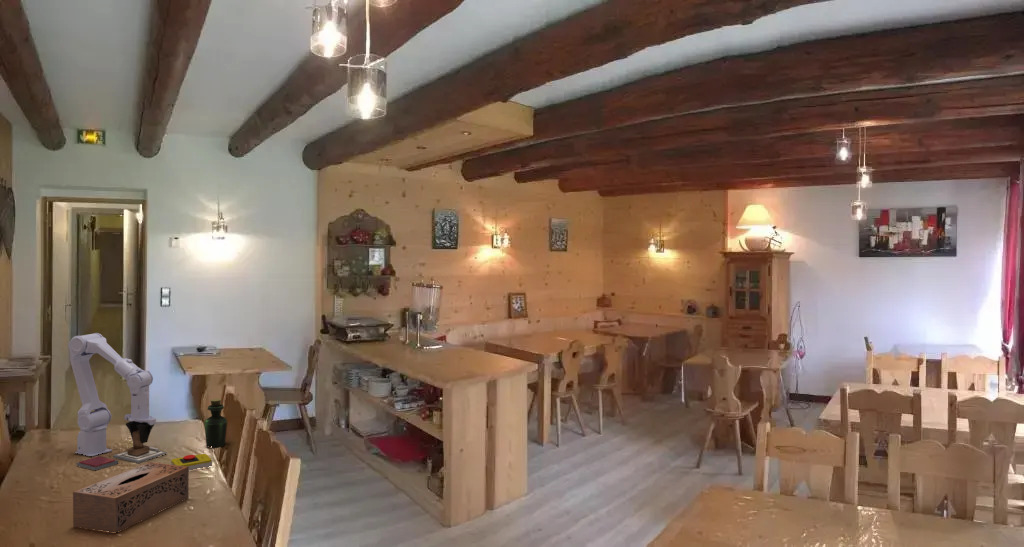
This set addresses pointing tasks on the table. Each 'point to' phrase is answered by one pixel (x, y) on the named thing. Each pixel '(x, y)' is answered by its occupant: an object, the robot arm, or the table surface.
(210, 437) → the potion bottle
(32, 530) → the table surface
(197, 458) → the emergency button
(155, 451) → the grey white rectangular board
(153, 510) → the tissue box cover
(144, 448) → the stamp
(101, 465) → the ink pad
